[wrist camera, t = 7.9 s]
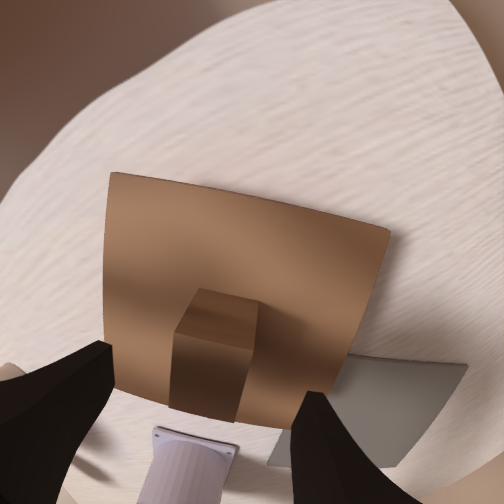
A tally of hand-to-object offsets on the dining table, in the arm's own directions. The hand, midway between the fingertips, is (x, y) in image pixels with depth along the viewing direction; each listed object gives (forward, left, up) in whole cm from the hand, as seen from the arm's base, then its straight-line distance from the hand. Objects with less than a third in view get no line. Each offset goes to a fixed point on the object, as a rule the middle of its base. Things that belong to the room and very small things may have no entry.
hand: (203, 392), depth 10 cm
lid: (0, 0, -5) cm, 5 cm away
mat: (-11, -14, -10) cm, 20 cm away
